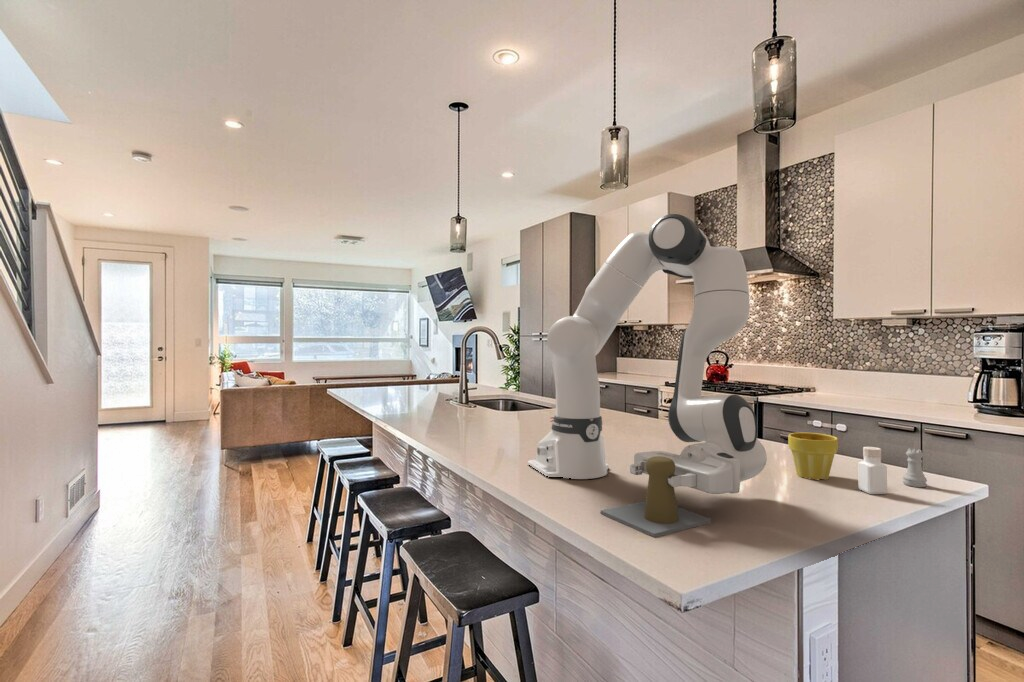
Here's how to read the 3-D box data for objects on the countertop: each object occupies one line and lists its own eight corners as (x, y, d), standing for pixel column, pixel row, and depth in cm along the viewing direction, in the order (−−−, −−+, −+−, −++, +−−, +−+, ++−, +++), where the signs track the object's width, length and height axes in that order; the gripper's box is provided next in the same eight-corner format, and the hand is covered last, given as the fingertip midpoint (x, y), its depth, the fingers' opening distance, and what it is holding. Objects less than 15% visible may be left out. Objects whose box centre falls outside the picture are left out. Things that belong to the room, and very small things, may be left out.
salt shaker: (888, 494, 109) (888, 449, 109) (869, 495, 109) (869, 450, 109) (875, 489, 113) (874, 446, 113) (857, 489, 113) (856, 446, 113)
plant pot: (838, 484, 117) (838, 441, 117) (786, 478, 122) (786, 437, 122) (838, 474, 126) (837, 434, 126) (789, 469, 131) (789, 430, 131)
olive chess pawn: (639, 513, 96) (638, 454, 96) (669, 511, 97) (668, 453, 97) (652, 524, 90) (651, 461, 90) (684, 522, 91) (683, 460, 91)
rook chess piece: (900, 485, 116) (900, 449, 116) (905, 481, 119) (904, 446, 119) (925, 489, 113) (925, 452, 113) (929, 485, 116) (929, 449, 116)
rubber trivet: (600, 513, 98) (600, 510, 98) (654, 501, 105) (654, 498, 105) (654, 537, 86) (654, 533, 86) (711, 522, 93) (711, 519, 93)
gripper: (662, 441, 111) (612, 448, 104) (746, 460, 93) (693, 470, 87) (662, 470, 111) (613, 479, 104) (747, 495, 93) (694, 507, 87)
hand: (650, 475), depth 95 cm, fingers open, 8 cm apart
